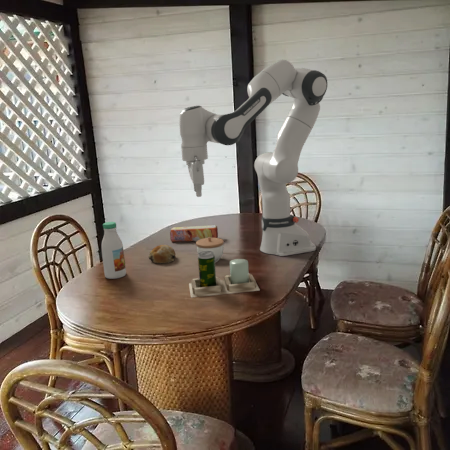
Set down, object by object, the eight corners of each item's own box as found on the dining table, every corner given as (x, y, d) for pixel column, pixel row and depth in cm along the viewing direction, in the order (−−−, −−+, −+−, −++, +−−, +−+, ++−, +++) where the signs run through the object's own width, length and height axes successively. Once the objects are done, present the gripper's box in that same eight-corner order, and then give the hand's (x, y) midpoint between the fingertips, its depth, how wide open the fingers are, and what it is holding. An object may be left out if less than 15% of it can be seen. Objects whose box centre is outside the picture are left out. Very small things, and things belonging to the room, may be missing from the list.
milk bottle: (107, 281, 169) (101, 227, 164) (102, 274, 176) (96, 222, 171) (128, 276, 172) (122, 223, 167) (123, 270, 179) (117, 219, 174)
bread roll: (167, 273, 184) (174, 255, 182) (143, 262, 185) (150, 244, 183) (174, 264, 194) (181, 247, 191) (152, 254, 194) (158, 237, 192)
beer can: (207, 283, 158) (204, 249, 155) (219, 286, 155) (217, 252, 152) (196, 289, 154) (194, 254, 151) (209, 292, 151) (206, 256, 148)
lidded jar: (229, 261, 183) (228, 237, 181) (205, 267, 178) (203, 243, 175) (216, 254, 192) (214, 232, 190) (192, 259, 187) (190, 237, 184)
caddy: (253, 280, 162) (252, 271, 161) (260, 293, 151) (259, 284, 150) (189, 286, 160) (188, 277, 159) (191, 300, 148) (190, 291, 147)
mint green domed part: (247, 280, 159) (246, 258, 157) (250, 287, 153) (249, 264, 151) (229, 282, 158) (228, 259, 156) (232, 289, 152) (231, 265, 150)
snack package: (170, 243, 211) (168, 228, 210) (173, 239, 218) (172, 224, 216) (217, 242, 209) (216, 227, 207) (219, 238, 215) (218, 223, 213)
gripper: (206, 157, 154) (209, 198, 158) (201, 151, 174) (204, 188, 177) (187, 158, 153) (190, 200, 157) (184, 152, 173) (187, 189, 176)
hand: (197, 193), depth 167 cm, fingers open, 8 cm apart
